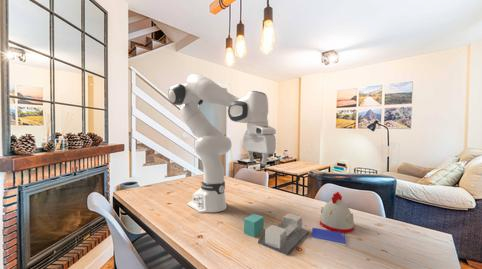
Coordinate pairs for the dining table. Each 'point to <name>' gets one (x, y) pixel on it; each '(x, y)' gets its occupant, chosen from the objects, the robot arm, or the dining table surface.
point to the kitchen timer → (337, 216)
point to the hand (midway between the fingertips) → (257, 162)
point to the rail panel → (289, 241)
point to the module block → (253, 225)
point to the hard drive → (328, 236)
